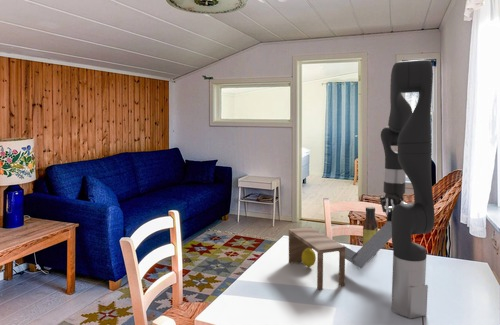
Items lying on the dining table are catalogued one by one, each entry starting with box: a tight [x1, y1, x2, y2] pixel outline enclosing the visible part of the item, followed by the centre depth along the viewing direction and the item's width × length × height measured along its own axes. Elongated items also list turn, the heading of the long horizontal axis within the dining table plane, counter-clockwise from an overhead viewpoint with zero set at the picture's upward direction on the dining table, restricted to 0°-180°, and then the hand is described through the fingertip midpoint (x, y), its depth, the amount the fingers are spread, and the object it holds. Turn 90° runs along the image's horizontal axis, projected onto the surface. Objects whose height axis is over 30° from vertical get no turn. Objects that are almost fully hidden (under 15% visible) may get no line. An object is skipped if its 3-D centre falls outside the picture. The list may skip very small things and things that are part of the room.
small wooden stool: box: [288, 226, 346, 291], centre depth 141 cm, size 26×10×14 cm, turn 18°
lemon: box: [301, 248, 317, 268], centre depth 148 cm, size 6×6×8 cm
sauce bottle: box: [362, 206, 379, 247], centre depth 164 cm, size 7×6×20 cm
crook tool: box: [342, 219, 392, 269], centre depth 143 cm, size 12×29×4 cm
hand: (393, 225), depth 140 cm, fingers closed on crook tool, 3 cm apart
